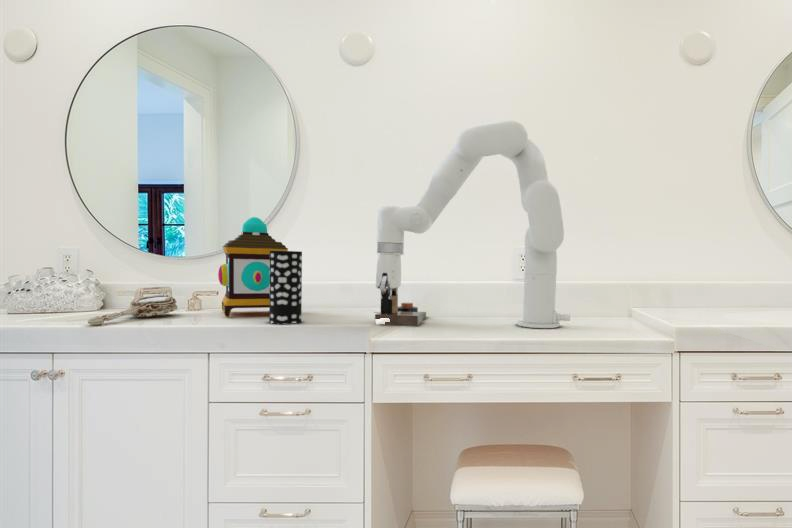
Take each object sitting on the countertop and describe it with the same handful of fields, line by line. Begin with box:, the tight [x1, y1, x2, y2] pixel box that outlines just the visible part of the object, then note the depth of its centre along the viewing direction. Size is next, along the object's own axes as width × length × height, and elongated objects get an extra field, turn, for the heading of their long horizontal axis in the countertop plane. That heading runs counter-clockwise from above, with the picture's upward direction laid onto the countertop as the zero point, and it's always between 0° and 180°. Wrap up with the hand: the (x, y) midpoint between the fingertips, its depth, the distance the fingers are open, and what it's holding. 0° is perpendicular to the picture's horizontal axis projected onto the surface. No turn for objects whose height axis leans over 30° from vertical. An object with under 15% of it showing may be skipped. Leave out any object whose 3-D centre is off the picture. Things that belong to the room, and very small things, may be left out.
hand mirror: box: [87, 294, 179, 326], centre depth 150 cm, size 11×6×30 cm
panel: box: [373, 311, 424, 327], centre depth 160 cm, size 14×10×3 cm
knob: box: [385, 295, 399, 314], centre depth 160 cm, size 5×5×5 cm
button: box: [400, 302, 414, 308], centre depth 173 cm, size 4×4×2 cm
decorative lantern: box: [217, 216, 289, 318], centre depth 170 cm, size 20×20×30 cm
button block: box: [398, 305, 427, 321], centre depth 173 cm, size 11×9×4 cm
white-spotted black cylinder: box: [268, 250, 303, 325], centre depth 154 cm, size 8×8×20 cm
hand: (389, 311), depth 160 cm, fingers closed on knob, 4 cm apart
